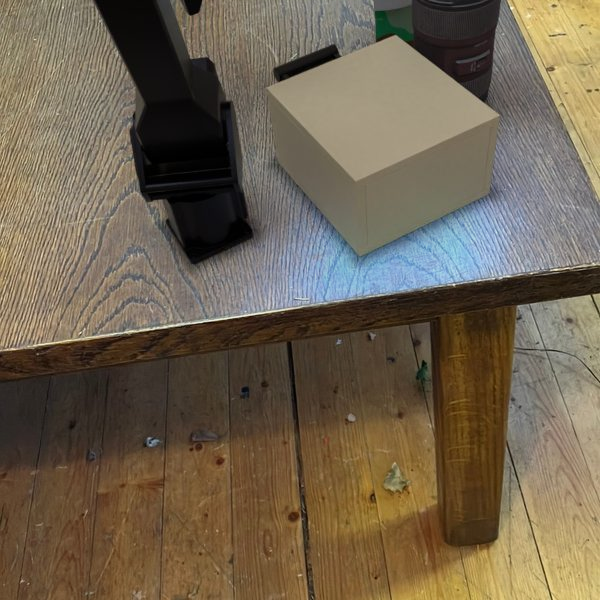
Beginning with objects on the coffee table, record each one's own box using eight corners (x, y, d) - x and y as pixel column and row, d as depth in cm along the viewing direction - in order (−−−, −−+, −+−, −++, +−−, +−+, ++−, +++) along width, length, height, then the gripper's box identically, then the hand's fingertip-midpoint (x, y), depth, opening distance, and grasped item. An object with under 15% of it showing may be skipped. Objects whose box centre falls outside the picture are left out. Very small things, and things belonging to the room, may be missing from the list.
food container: (430, 79, 80) (434, -8, 72) (375, 77, 81) (373, -8, 74) (440, 19, 88) (444, -66, 80) (389, 18, 89) (388, -65, 81)
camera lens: (494, 88, 78) (510, -52, 66) (482, 136, 73) (497, -6, 62) (419, 81, 80) (422, -55, 68) (403, 127, 75) (403, -11, 64)
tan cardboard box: (277, 162, 74) (265, 87, 67) (395, 111, 77) (395, 34, 70) (359, 257, 64) (355, 181, 58) (489, 194, 68) (500, 115, 61)
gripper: (26, -170, 62) (86, 2, 74) (93, -101, 51) (151, 88, 63) (145, -205, 65) (184, -33, 77) (234, -146, 54) (264, 44, 66)
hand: (193, 13), depth 71 cm, fingers closed
